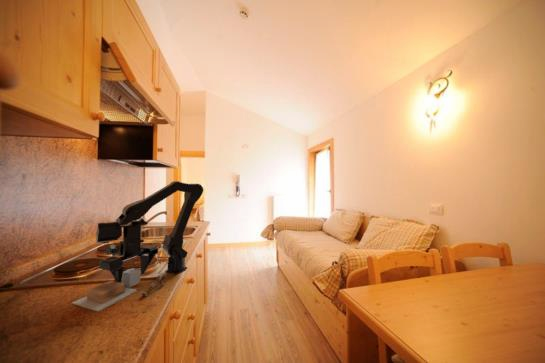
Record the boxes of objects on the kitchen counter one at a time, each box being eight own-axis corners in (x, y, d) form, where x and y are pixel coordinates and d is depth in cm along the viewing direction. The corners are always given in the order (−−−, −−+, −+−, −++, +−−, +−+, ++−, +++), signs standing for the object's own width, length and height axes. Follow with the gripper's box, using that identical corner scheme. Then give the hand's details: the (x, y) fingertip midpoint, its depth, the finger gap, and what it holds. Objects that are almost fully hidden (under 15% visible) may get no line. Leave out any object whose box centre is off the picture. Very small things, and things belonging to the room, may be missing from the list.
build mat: (113, 285, 74) (113, 284, 74) (137, 291, 70) (137, 290, 70) (72, 303, 62) (72, 302, 62) (98, 311, 59) (98, 310, 59)
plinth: (110, 288, 71) (110, 280, 71) (124, 292, 68) (125, 283, 69) (87, 299, 64) (87, 290, 64) (101, 304, 62) (102, 294, 62)
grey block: (132, 280, 78) (132, 268, 78) (139, 282, 76) (140, 269, 76) (121, 285, 74) (122, 272, 74) (129, 287, 73) (129, 273, 73)
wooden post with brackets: (167, 282, 75) (163, 273, 73) (149, 302, 68) (144, 292, 66) (163, 281, 75) (159, 273, 74) (145, 301, 68) (140, 292, 67)
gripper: (139, 230, 87) (138, 266, 87) (88, 242, 69) (87, 287, 69) (159, 232, 83) (158, 270, 83) (111, 245, 66) (110, 293, 65)
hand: (131, 279), depth 75 cm, fingers open, 9 cm apart
